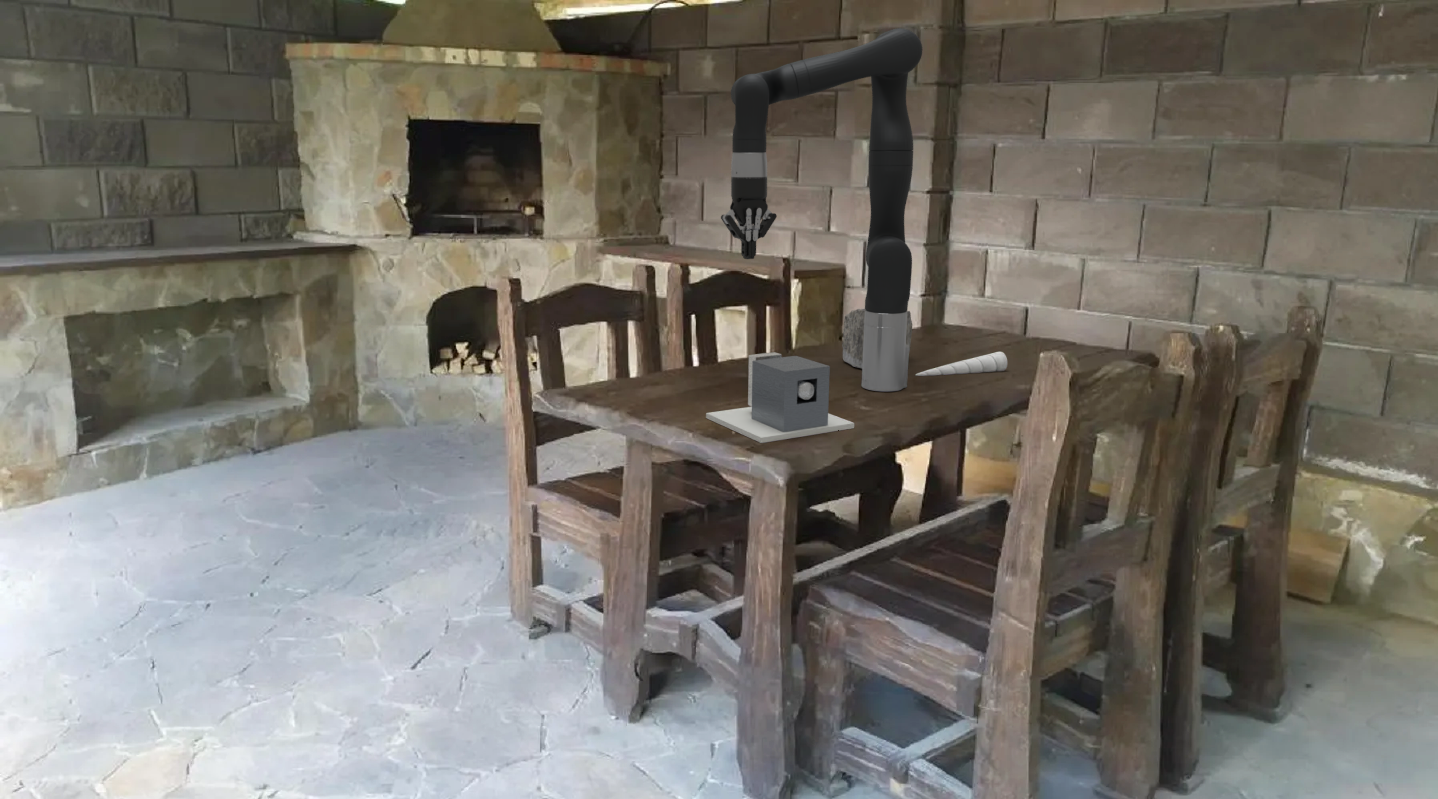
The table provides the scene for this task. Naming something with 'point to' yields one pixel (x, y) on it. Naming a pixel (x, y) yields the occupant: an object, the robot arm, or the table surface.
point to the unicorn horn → (971, 365)
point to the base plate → (762, 433)
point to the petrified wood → (861, 336)
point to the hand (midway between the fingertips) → (748, 258)
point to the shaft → (803, 387)
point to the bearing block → (789, 393)
